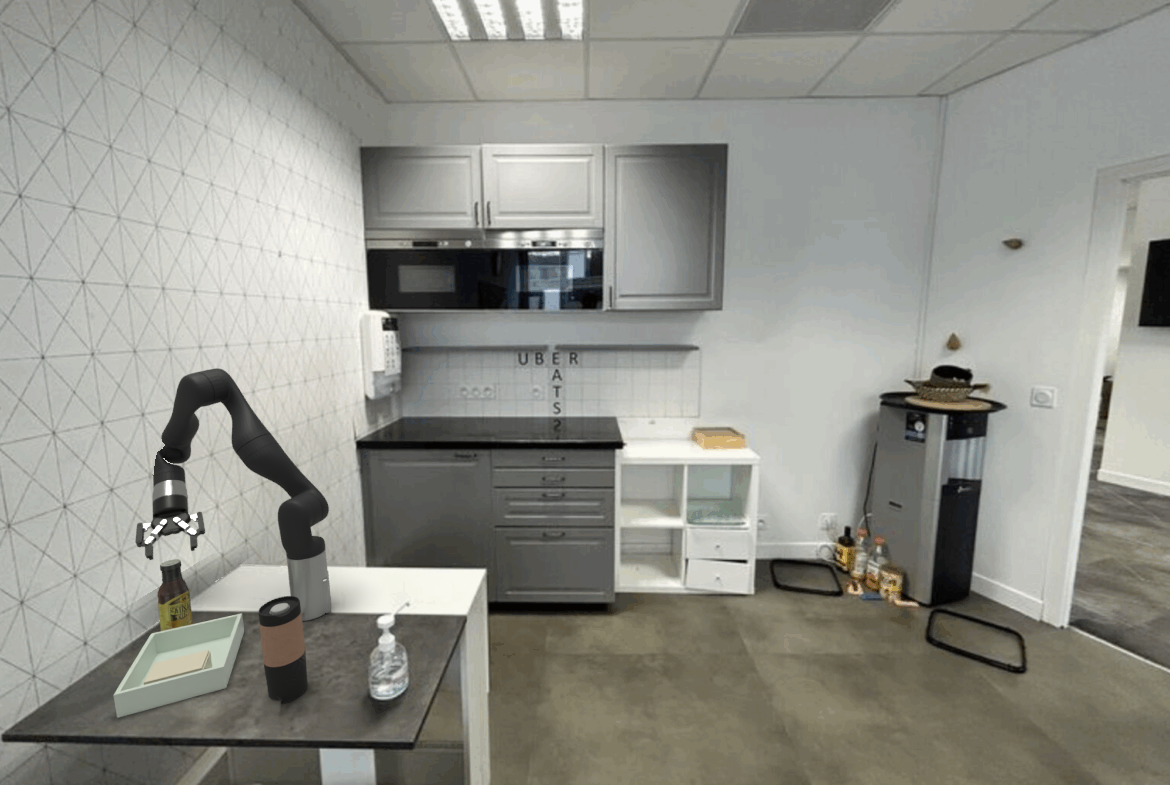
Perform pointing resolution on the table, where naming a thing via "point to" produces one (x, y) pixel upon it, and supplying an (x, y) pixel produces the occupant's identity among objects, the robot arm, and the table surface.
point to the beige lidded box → (179, 666)
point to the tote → (179, 642)
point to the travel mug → (283, 648)
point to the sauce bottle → (173, 597)
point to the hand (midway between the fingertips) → (172, 554)
